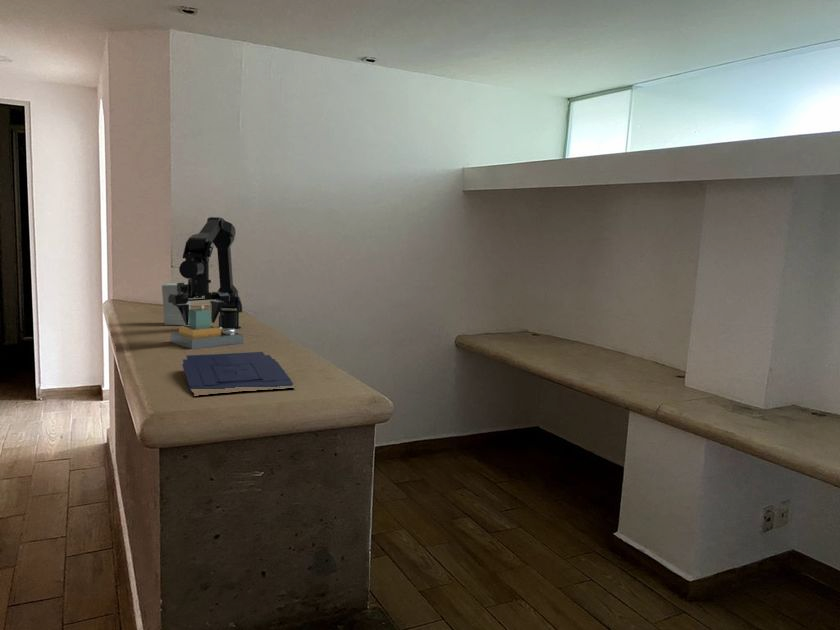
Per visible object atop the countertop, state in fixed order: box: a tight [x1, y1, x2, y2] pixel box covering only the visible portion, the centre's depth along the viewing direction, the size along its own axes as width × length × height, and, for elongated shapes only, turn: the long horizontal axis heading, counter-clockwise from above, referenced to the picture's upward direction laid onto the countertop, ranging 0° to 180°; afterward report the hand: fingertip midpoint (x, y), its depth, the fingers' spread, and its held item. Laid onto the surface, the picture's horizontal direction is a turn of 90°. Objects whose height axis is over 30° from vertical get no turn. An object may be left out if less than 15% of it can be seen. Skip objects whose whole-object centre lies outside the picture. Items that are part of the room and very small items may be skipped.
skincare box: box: [161, 282, 192, 326], centre depth 249 cm, size 8×7×16 cm
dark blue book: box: [182, 351, 294, 391], centre depth 167 cm, size 24×30×4 cm
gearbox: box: [170, 324, 244, 350], centre depth 215 cm, size 18×15×6 cm
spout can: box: [188, 304, 212, 330], centre depth 213 cm, size 5×5×10 cm
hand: (200, 323), depth 213 cm, fingers open, 9 cm apart
